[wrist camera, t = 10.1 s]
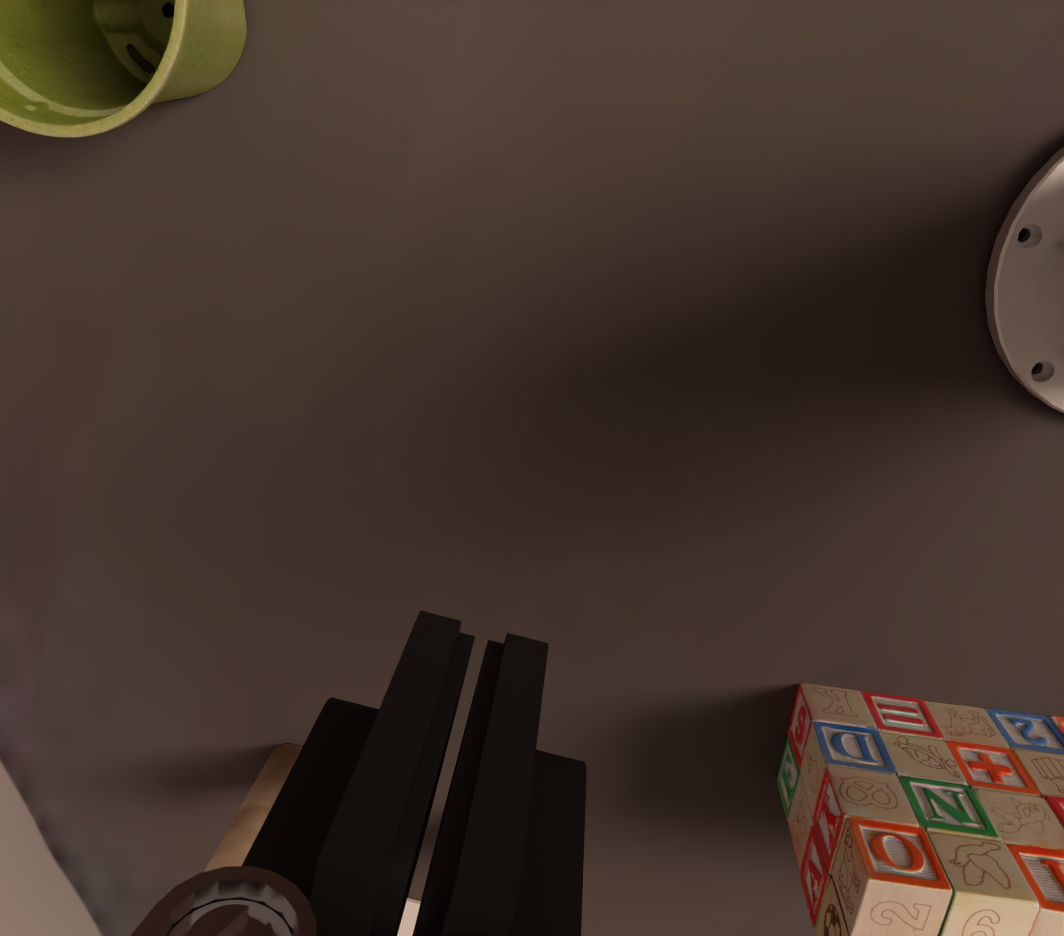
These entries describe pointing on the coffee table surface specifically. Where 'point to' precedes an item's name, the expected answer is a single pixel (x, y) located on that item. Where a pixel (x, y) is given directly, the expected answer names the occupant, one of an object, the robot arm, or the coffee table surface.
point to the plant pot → (109, 59)
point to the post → (255, 808)
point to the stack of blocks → (924, 816)
